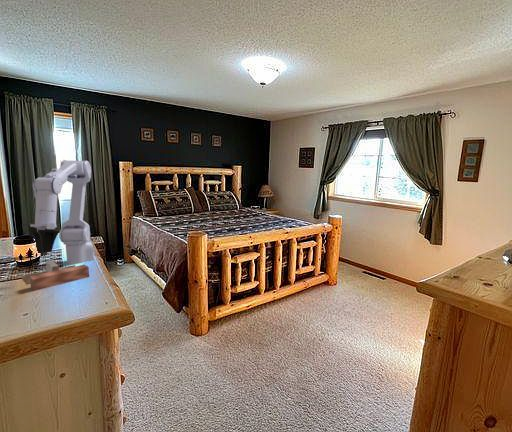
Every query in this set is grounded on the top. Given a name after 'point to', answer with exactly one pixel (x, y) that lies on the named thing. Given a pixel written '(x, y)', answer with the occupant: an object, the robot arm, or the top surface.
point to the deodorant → (31, 230)
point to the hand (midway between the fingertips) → (44, 252)
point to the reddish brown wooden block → (58, 277)
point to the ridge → (50, 267)
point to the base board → (27, 277)
